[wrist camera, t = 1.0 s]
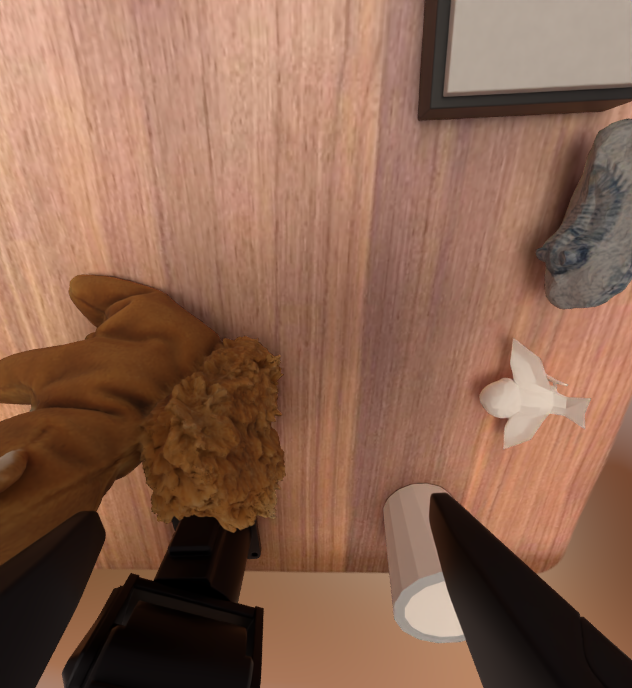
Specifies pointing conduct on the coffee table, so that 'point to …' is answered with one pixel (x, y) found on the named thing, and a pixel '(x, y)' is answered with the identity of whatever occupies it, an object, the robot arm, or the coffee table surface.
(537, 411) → the toy bird
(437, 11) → the kitchen scale
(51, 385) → the stuffed squirrel
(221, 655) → the robot arm
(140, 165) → the coffee table surface
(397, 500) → the shot glass
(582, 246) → the fossil
